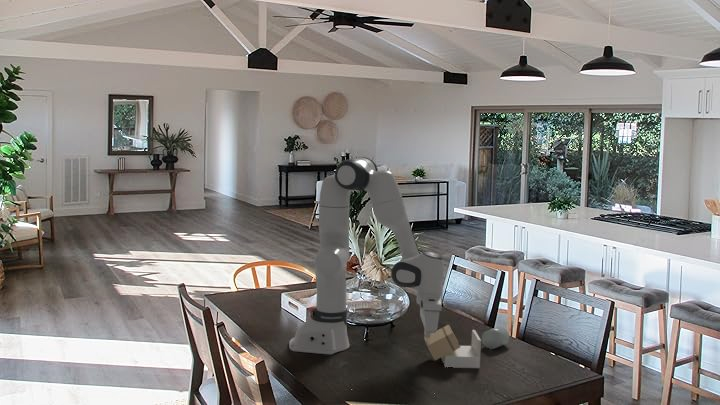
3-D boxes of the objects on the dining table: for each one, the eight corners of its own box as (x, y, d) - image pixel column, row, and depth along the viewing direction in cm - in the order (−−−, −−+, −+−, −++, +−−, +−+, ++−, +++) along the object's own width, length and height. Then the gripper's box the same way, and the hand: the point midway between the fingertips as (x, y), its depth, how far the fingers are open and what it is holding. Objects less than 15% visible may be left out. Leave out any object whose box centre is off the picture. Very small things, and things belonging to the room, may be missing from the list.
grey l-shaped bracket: (445, 367, 226) (446, 339, 225) (440, 355, 237) (441, 329, 235) (479, 368, 226) (481, 340, 225) (473, 356, 237) (474, 329, 236)
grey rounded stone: (484, 327, 246) (496, 323, 252) (479, 343, 248) (491, 338, 254) (499, 336, 242) (511, 331, 248) (494, 352, 244) (506, 347, 250)
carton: (434, 360, 226) (426, 345, 226) (431, 351, 235) (423, 337, 235) (460, 347, 226) (452, 332, 225) (456, 338, 235) (448, 324, 234)
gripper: (417, 290, 239) (415, 326, 240) (423, 306, 218) (421, 346, 220) (434, 291, 239) (432, 327, 241) (442, 307, 218) (439, 347, 220)
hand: (426, 336), depth 230 cm, fingers closed
